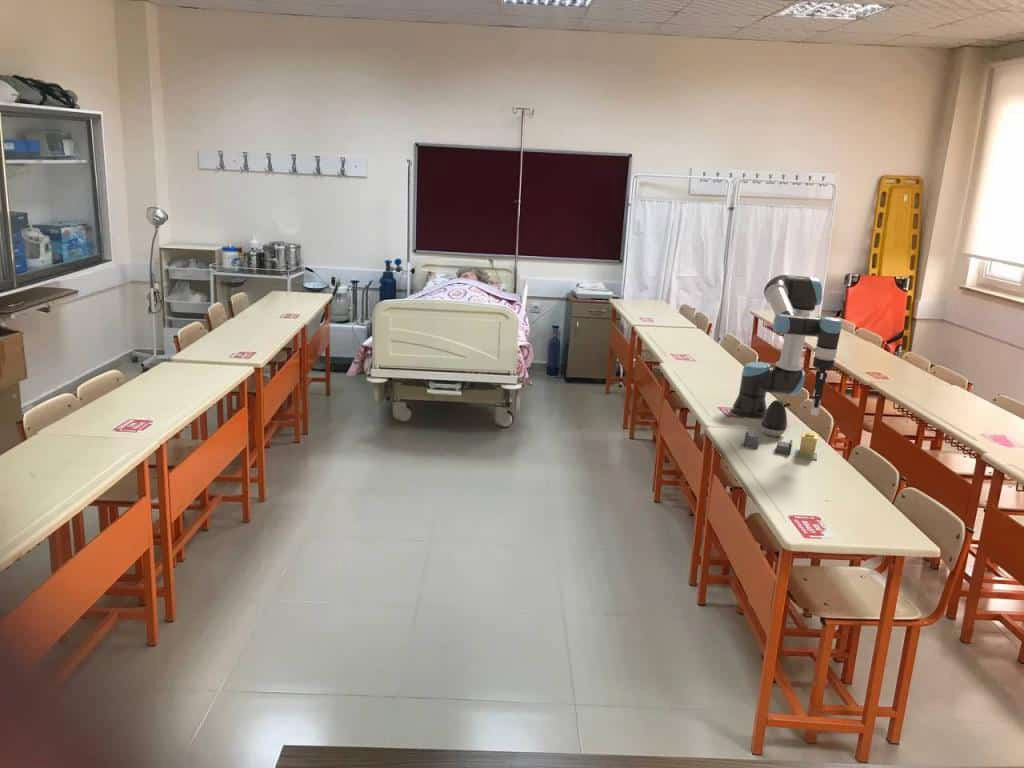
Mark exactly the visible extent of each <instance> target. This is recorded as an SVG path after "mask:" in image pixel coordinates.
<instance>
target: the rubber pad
mask: <svg viewBox="0 0 1024 768" xmlns="http://www.w3.org/2000/svg"><path fill="white" fill-rule="evenodd" d="M794 457H795V458H800V459H806V460H810V461H817V460H818V453H817V452H815V453H814V458H809V457H804V456H799V449H797V448H796V449H795V456H794Z"/></svg>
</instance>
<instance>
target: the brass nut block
mask: <svg viewBox="0 0 1024 768" xmlns="http://www.w3.org/2000/svg"><path fill="white" fill-rule="evenodd" d="M817 441H818V433H815V432H811V431H802V433H801V440H800V445H799V449H798V450H799V456H804V457H809V458H814V453H816V446H817Z"/></svg>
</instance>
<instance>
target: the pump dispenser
mask: <svg viewBox="0 0 1024 768" xmlns="http://www.w3.org/2000/svg"><path fill="white" fill-rule="evenodd" d="M789 406H791V403H790V402H789V403H788V402H787V403H784V402H783V401H782V400H778V399H776V400H773V401H772V402H770V404H769V405H768V406H767V407H766V408H767V410H766V412H765V414H764V417H762V419H761V427H762V430H763V433H764V434H766V435H767V436H770V437H780V436H781V435H783V434H784V433H785V431H786V430H787V426H788V415H787V410H786V408H787V407H789Z"/></svg>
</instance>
